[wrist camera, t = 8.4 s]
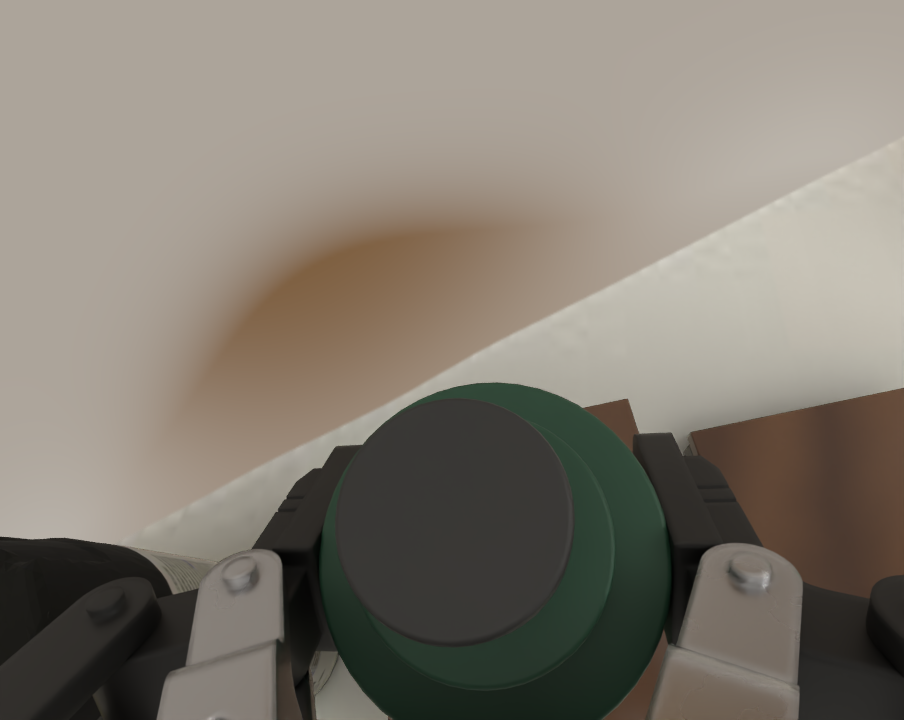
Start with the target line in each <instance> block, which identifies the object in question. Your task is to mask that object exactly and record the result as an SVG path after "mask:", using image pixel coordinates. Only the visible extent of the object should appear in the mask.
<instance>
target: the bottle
mask: <svg viewBox="0 0 904 720" xmlns="http://www.w3.org/2000/svg"><path fill="white" fill-rule="evenodd" d="M319 582H320V590H321V598H322V605H323V609H324V613H325V617H326V621H327V625H328V628H329V631H330V633H331V636H332V639H333V641H334V644H335V646H336V649H337V651H338V653H339V655H340V657H341V658H342V660H343V662H344V664H345V666H346V668H347V669H348V671H349V673H350V674H351V676H352V677H353V678H354V680H355V681H356V682H357V684H358V685H359V687H360V688H361V689H362V691H363V692H364V693H365V694H366V695H367V696H368V697H369V698H370V699H371V701H372V702H373V703H374V704H375V705H376V706H377V707H378V708H379V709H380V710H381V711H382V712H384V713H385V714H386V715H387V716H389V717H390V718H391V719H392V720H603V719H604V718H605V717H606V716H608V715H609V714H610V713H611V712H612V711H613V710H615V709H616V708H617V707H618V706H619V705H620V704H621V703H622V701H623V700H624V699H625V698H626V697H627V696H628V694H629V693H630V692H631V691H632V690H633V689H634V687H635V686H636V685H637V683H638V682H639V680H640V678H641V677H642V675H643V674H644V672H645V671H646V669H647V667H648V666H649V664H650V662H651V660H652V658H653V656H654V653H655V651H656V649H657V647H658V644H659V642H660V640H661V637H662V634H663V630H664V627H665V623H666V620H667V616H668V612H669V606H670V599H671V592H672V558H671V550H670V543H669V535H668V530H667V525H666V520H665V516H664V512H663V510H662V507H661V504H660V502H659V499H658V497H657V494H656V492H655V489H654V487H653V485H652V483H651V482H650V480H649V478H648V476H647V474H646V472H645V471H644V469H643V467H642V466H641V464H640V463H639V462H638V460H637V459H636V457H635V456H634V455H633V453H632V452H631V450H630V449H629V448H628V447H627V446H626V445H625V443H624V442H623V441H622V440H621V439H620V438H619V437H618V436H617V435H616V434H615V433H614V432H613V431H612V430H611V429H610V428H609V427H607V426H606V425H605V424H604V423H603V422H602V421H600V420H599V419H598V418H597V417H595V416H594V415H592V414H591V413H589V412H588V411H586V410H585V409H583V408H582V407H580V406H579V405H577V404H575V403H573V402H571V401H569V400H567V399H564V398H562V397H560V396H558V395H555V394H552V393H550V392H547V391H544V390H541V389H538V388H533V387H528V386H523V385H519V384H508V383H476V384H470V385H464V386H458V387H454V388H450V389H447V390H443V391H440V392H437V393H434V394H432V395H430V396H427V397H425V398H423V399H420V400H418V401H416V402H415V403H413V404H411V405H409V406H408V407H406V408H404V409H402V410H401V411H399V412H398V413H397V414H395V415H394V416H393V417H391V418H390V419H389V420H387V421H386V422H385V423H384V424H382V425H381V426H380V427H379V428H378V429H377V430H376V431H375V432H374V433H373V434H372V435H371V436H370V437H369V438H368V439H367V440H366V442H365V443H364V444H363V445H362V446H361V447H360V449H359V450H358V451H357V452H356V454H355V455H354V457H353V458H352V460H351V461H350V463H349V464H348V466H347V467H346V469H345V470H344V472H343V474H342V476H341V478H340V480H339V482H338V484H337V486H336V488H335V490H334V493H333V496H332V499H331V501H330V504H329V507H328V510H327V513H326V517H325V522H324V526H323V530H322V536H321V544H320V553H319Z"/></svg>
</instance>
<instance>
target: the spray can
mask: <svg viewBox="0 0 904 720" xmlns="http://www.w3.org/2000/svg"><path fill="white" fill-rule="evenodd" d="M217 563H219V562H215V561H209V560H203V559H197V558H191V557H186V556H180V555H174V554H168V553H162V552H156V551H149V550H144V549H138V548H132V547H127V546H120V545H111V544H104V543H95V542H89V541H83V540H76V539H69V538H50V539H34V540H30V539H20V538H11V537H0V666H1V665H2V664H3V663H4V662H5V661H7V660H8V659H9V658H10V657H11V656H12V655H14V654H15V653H16V652H17V651H18V650H20V649H21V648H22V647H23V646H24V645H25V644H27V643H28V642H29V641H30V640H31V639H32V638H34V637H35V636H36V635H37V634H38V633H40V632H41V631H42V630H43V629H44V628H45V627H47V626H48V625H49V624H50V623H51V622H52V621H54V620H55V619H56V618H57V617H58V616H60V615H61V614H62V613H63V612H64V611H65V610H67V609H68V608H69V607H70V606H71V605H72V604H74V603H75V602H76V601H77V600H78V599H80V598H81V597H82V596H84V595H85V594H87V593H88V592H90V591H91V590H93V589H95V588H97V587H99V586H101V585H103V584H105V583H108V582H111V581H113V580H117V579H121V578H126V577H141V578H145V579H146V580H148V581H149V582H150V583H151V585H152V587H153V590H154V593H155V595H156V598H161V597H165V596H169V595H173V594H178V593H182V592H186V591H190V590H194V589H198V588H199V586H200V582H201V580H202V579H203V577H204V576H205V574H206V573H207V572H208V571H209V570H210V569H211V568H212V567H213V566H215V565H216V564H217ZM337 655H338V651H337V652H331V651H316V652H315V654H314V657H313V659H312V661H311V664H310V669H311V672H312V677H313V684H314V696H315V695H316V694H317V693H318V692H319V690H320V689H321V688H322V687H323V685H324V684H325V683H326V681H327V680H328V678H329V677H330V674H331V672H332V670H333V667H334V665H335V662H336V659H337ZM100 716H101V713H100V711H99V709H98V707H97V705H96V702H95V700H94V698H93V696H91V697H90V698H89V699H88V701H87V702H86V703H85V704H84V705H83V706H82V707H81V708H80V709H79V710H78V711H77V712H76V713H75V714H74V715H73V716H72V717H71V718H70V719H69V720H97V719H98V718H99V717H100Z"/></svg>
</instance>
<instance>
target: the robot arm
mask: <svg viewBox="0 0 904 720" xmlns="http://www.w3.org/2000/svg"><path fill="white" fill-rule="evenodd" d="M361 446H362V445H350V446H336V447H335V448H334V450H333V451H332V453H331V454H330V456H329V458H328V459H327V461H326V463H325V464H324V466H323V467H322V468H317V469H313V470H311V471H310V472H309V473H307V474H306V475H305V476H303V477H302V478H301V479H299V480H298V481H297V482H296V483H295V485H294V486H293V488H292V489H291V491H290V492H289V494H288V495H287V499H286V500H284V501H283V503H282V504H281V506H280V507H279V508H278V512H276V513H275V514H274V516H273V517H272V519H271V520H270V522H269V523H268V525H267V526H266V528H265V529H264V531H263V532H262V534H261V535H260V537H259V538H258V540H257V541H256V543H255V544H254V546H253V547H252V549H251V550H246V551H242V552H239V553H236V554H233V555H231V556H229V557H227V558H225V559H223V560H222V561H220V562H219V563H217V564H216V565H215V566H213V567H212V568H211V569H210V570H209V571H208V572H207V573H206V574H205V576H204V577H203V579H202V580H201V582H200V586H199V588H198V589H194V590H190V591H186V592H182V593H178V594H173V595H169V596H165V597H161V598H156V595H155V593H154V590H153V587H152V585H151V583H150V582H149V581H148V580H146V579H145V578H141V577H126V578H121V579H117V580H113V581H111V582H108V583H105V584H103V585H101V586H99V587H97V588H95V589H93V590H91V591H90V592H88V593H87V594H85V595H84V596H82V597H81V598H80V599H78V600H77V601H76V602H75V603H74V604H72V605H71V606H70V607H69V608H68V609H67V610H65V611H64V612H63V613H62V614H61V615H60V616H58V617H57V618H56V619H55V620H54V621H52V622H51V623H50V624H49V625H48V626H47V627H45V628H44V629H43V630H42V631H41V632H40V633H38V634H37V635H36V636H35V637H34V638H32V639H31V640H30V641H29V642H28V643H27V644H25V645H24V646H23V647H22V648H21V649H20V650H18V651H17V652H16V653H15V654H14V655H12V656H11V657H10V658H9V659H8V660H7V661H5V662H4V663H3V664H2V665H1V666H0V720H69V719H70V718H71V717H72V716H73V715H74V714H75V713H76V712H77V711H78V710H79V709H80V708H81V707H82V706H83V705H84V704H85V703H86V702H87V701H88V699H89V698H90V697H91V696H93V698H94V700H95V702H96V705H97V707H98V709H99V711H100V713H101V716H100V717H99V718H98V719H97V720H316V709H315V697H314V684H313V677H312V672H311V669H310V664H311V661H312V659H313V657H314V654H315V652H316V651H331V652H337V649H336V646H335V644H334V641H333V639H332V636H331V633H330V631H329V628H328V625H327V621H326V617H325V613H324V609H323V605H322V598H321V590H320V582H319V553H320V544H321V536H322V530H323V526H324V522H325V517H326V513H327V510H328V507H329V504H330V501H331V499H332V496H333V493H334V490H335V488H336V486H337V484H338V482H339V480H340V478H341V476H342V474H343V472H344V470H345V469H346V467H347V466H348V464H349V463H350V461H351V460H352V458H353V457H354V455H355V454H356V452H357V451H358V450H359V449H360V447H361ZM633 455H634V456H635V457H636V459H637V460H638V462H639V463H640V464H641V466H642V467H643V469H644V471H645V472H646V474H647V476H648V478H649V480H650V482H651V483H652V485H653V487H654V489H655V492H656V494H657V497H658V499H659V502H660V504H661V507H662V510H663V512H664V516H665V520H666V525H667V530H668V535H669V543H670V550H671V558H672V592H671V599H670V606H669V612H668V616H667V620H666V623H665V627H664V631H665V635H666V639H667V642H668V647H667V649H666V651H665V654H664V657H663V661H662V664H661V667H660V671H659V674H658V678H657V681H656V684H655V688H654V691H653V694H652V698H651V701H650V704H649V708H648V711H647V714H646V718H645V720H904V575H895V576H890V577H886V578H883V579H881V580H879V581H878V582H876V583H875V585H874V586H873V587H872V590H871V594H870V599H869V598H865V597H860V596H855V595H850V594H846V593H841V592H836V591H831V590H827V589H823V588H820V587H817V586H814V585H811V584H808V583H806V582H804V581H802V578H801V576H800V574H799V572H798V571H797V569H796V568H795V567H794V566H793V565H792V564H791V563H790V562H789V561H788V560H786V559H785V558H784V557H782V556H780V555H779V554H777V553H775V552H773V551H771V550H768V549H766V548H764V547H763V545H762V543H761V541H760V539H759V538H758V536H757V534H756V532H755V531H754V529H753V527H752V525H751V524H750V522H749V520H748V518H747V516H746V515H745V513H744V511H743V509H742V508H741V506H740V504H739V502H737V501H736V497H735V495H734V493H733V492H732V490H731V488H729V485H728V483H727V481H726V479H725V478H724V476H723V474H722V472H721V470H720V469H719V468H718V467H716V466H715V465H714V464H712V463H711V462H709V461H708V460H707V459H705V458H704V457H702V456H701V455H697V456H682V454H681V452H680V449H679V447H678V445H677V443H676V441H675V439H674V437H673V435H672V433H648V434H634V436H633Z"/></svg>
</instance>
